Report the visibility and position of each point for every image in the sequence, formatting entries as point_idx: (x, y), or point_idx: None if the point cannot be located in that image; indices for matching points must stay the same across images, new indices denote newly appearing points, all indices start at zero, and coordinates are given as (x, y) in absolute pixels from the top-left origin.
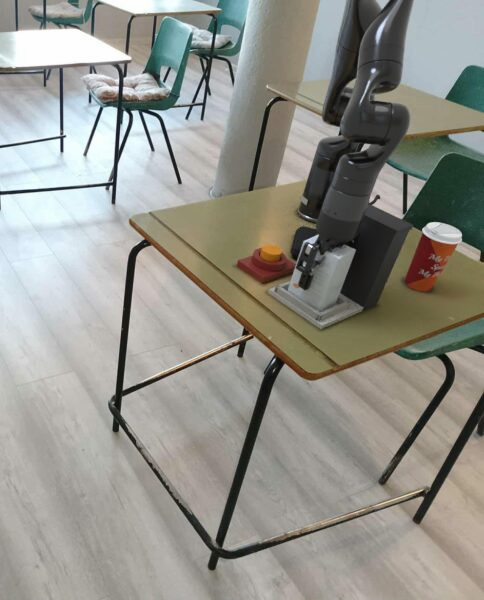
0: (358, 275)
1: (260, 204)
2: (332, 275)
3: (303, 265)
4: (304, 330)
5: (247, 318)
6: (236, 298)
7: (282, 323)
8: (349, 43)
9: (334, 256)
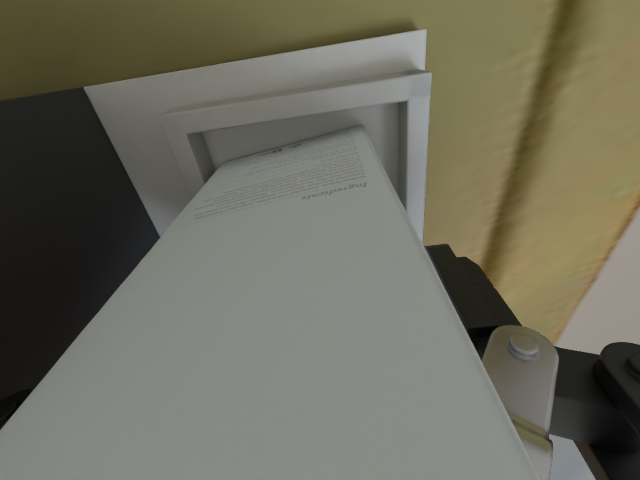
0: (15, 247)
1: None
2: (432, 265)
3: (592, 439)
4: (499, 57)
5: (618, 215)
6: (530, 305)
7: (536, 142)
8: None
9: None
